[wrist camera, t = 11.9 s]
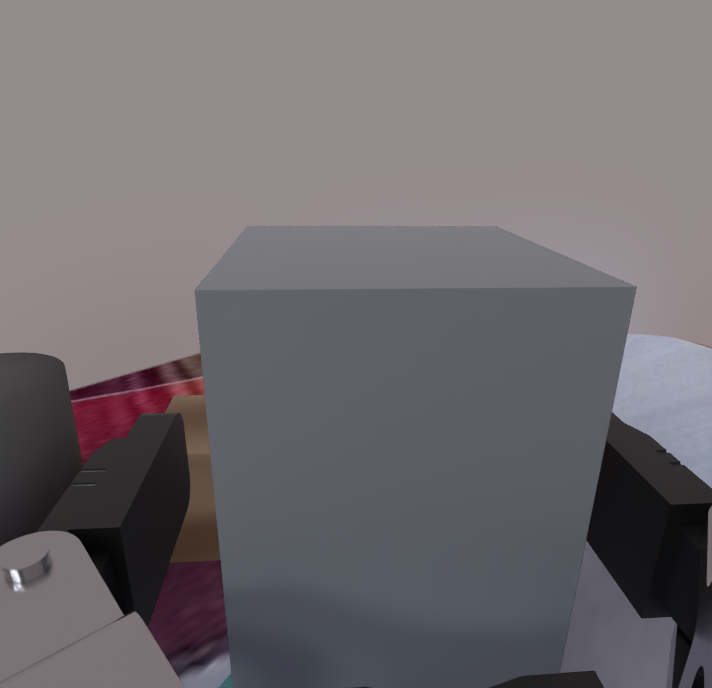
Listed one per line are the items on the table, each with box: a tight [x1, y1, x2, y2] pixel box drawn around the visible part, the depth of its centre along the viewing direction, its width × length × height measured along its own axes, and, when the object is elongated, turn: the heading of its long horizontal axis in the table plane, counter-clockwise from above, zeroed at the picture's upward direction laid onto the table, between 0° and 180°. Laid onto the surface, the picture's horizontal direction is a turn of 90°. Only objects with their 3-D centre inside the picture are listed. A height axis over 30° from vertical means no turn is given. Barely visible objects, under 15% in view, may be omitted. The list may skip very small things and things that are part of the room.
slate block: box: [195, 226, 637, 688], centre depth 11 cm, size 5×5×13 cm
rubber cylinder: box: [0, 353, 83, 546], centre depth 22 cm, size 6×6×7 cm
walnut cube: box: [165, 395, 221, 563], centre depth 23 cm, size 5×5×5 cm
